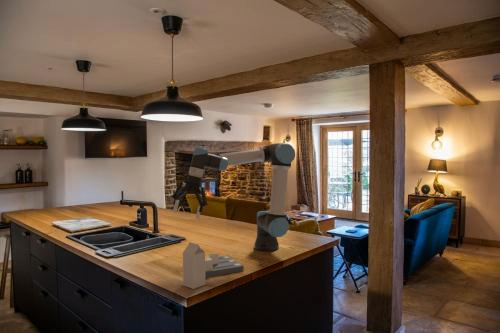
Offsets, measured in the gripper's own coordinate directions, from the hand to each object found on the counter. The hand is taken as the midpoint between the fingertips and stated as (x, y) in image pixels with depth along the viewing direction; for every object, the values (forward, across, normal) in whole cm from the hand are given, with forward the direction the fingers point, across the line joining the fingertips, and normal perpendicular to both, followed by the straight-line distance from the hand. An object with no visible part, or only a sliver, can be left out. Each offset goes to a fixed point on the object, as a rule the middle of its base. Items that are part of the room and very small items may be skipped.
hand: (185, 215), depth 187 cm
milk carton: (+26, +23, -22) cm, 41 cm away
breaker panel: (+23, +22, +1) cm, 31 cm away
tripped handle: (+20, +21, 0) cm, 29 cm away
